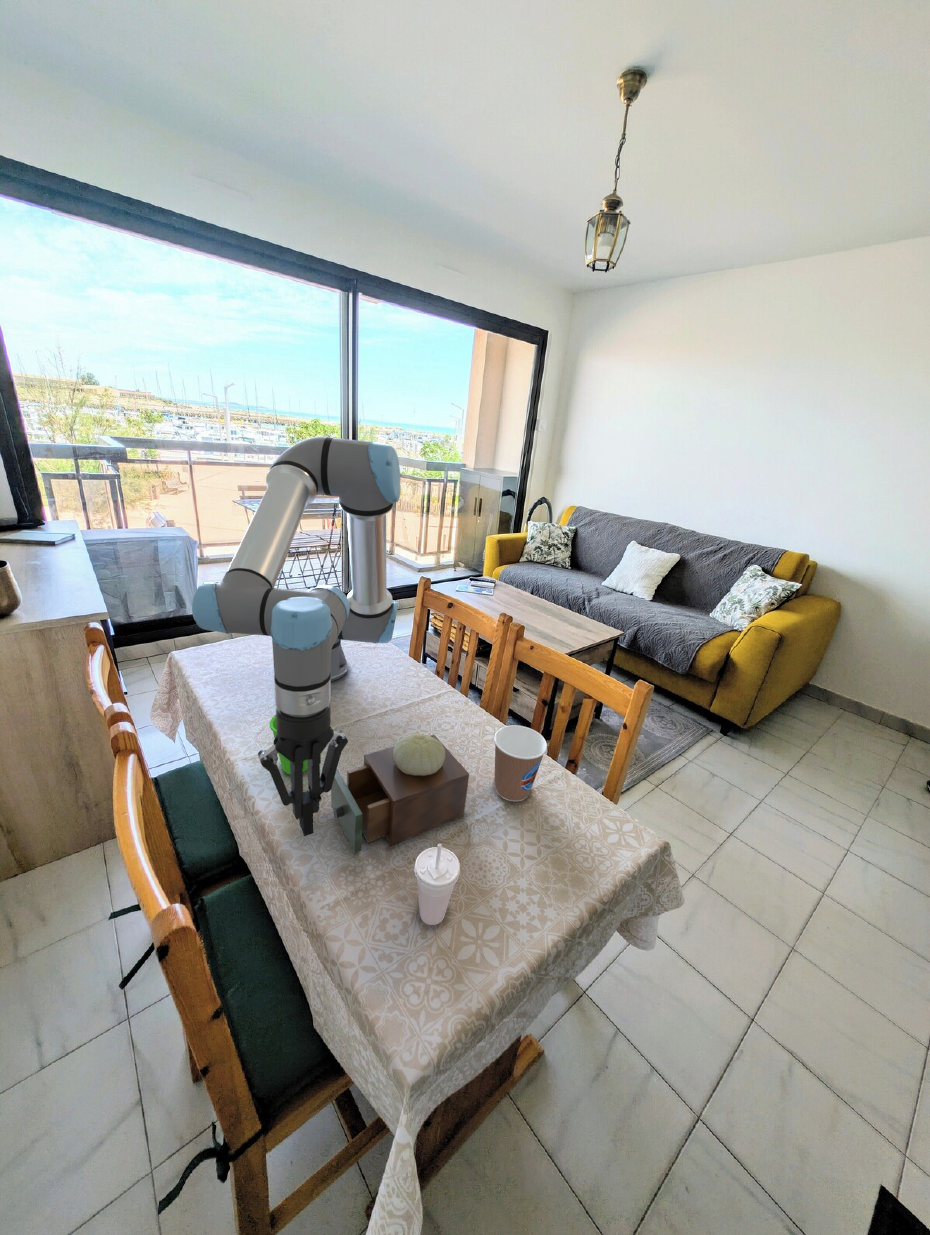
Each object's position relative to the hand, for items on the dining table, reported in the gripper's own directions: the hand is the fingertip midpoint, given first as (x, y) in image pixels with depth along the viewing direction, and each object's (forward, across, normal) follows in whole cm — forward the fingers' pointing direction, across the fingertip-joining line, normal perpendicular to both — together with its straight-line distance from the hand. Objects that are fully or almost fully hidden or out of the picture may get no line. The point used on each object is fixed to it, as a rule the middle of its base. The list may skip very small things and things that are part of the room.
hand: (306, 828), depth 76 cm
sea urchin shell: (-6, +20, 0) cm, 21 cm away
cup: (+4, +4, +20) cm, 21 cm away
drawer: (+3, +12, 0) cm, 13 cm away
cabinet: (+4, +20, 0) cm, 20 cm away
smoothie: (+4, +13, -20) cm, 24 cm away
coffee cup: (+4, +40, -5) cm, 40 cm away
